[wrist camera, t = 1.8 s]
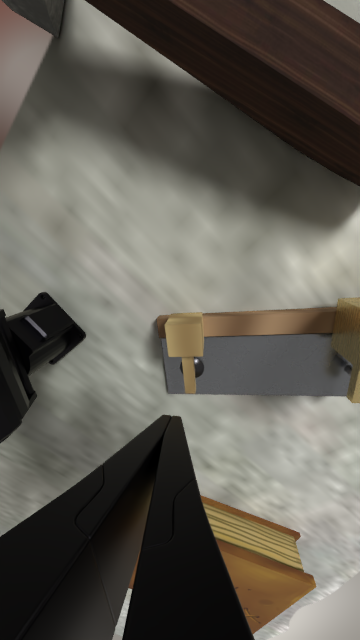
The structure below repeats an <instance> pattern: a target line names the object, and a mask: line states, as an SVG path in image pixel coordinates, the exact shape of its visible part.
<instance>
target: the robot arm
mask: <svg viewBox="0 0 360 640" xmlns="http://www.w3.org/2000/svg"><path fill="white" fill-rule="evenodd" d="M43 296H44V297H45V298H44V297H43ZM5 316H6V314H5V312H4V309H0V443H1V442H3V441H4V440H5V439H6V438H8V437H9V436H10V435H11V434H12V433H13V432H14V431H15V430H16V429H17V428H18V427H19V426H20V425H21V423H22V418H23V417H24V415H25V414H26V412H27V411H28V409H29V408H30V406H31V405H32V403H33V402H34V400H35V399H36V397H37V394H36V392H35V391H34V390H33V387H32V385H31V382H30V380H29V377H28V376H30V375H31V374H32V373H34V372H35V371H37V370H38V369H39V368H41V367H42V366H43V365H45V364H46V363H48V362H49V363H50V364H55V363H56V362H57V361H59V360H60V359H61V358H62V357H63V356H64V355H66V354H67V353H68V352H69V351H70V350H71V349H73V348H74V347H75V346H76V345H77V344H78V343H80V342H81V341H82V340H83V339H84V338H85V337H86V334H85V332H84V331H83V330H82V329H81V328H80V327H79V326H78V325H77V324H76V323H75V322H74V321H73V320H72V318H71V317H70V316H69V315H68V314H67V313H66V312H65V311H64V310H63V309H62V308H61V307H60V306H59V305H58V304H57V303H56V302H55V301H54V300H53V299H52V298H51V297H50V295H49V294H48V293H46V292H42V293H39V294H38V295H37V297H36V298H35V299H34V300H33V301H32V302H31V303H30V304H29V305H28V306H27V307H26V308H25V310H24V311H23V312H20V313H18V314H15V315H12V316H9V317H6V318H5ZM80 334H81V335H82V337H81V336H80ZM140 549H141V552H140ZM139 552H140V554H139ZM138 555H139V559H138ZM137 559H138V564H137V569H136V574H135V579H134V584H133V589H132V594H131V599H130V604H129V609H128V614H127V619H126V624H125V628H124V633H123V638H122V640H255V639H254V637H253V634H252V631H251V629H250V626H249V624H248V621H247V619H246V616H245V613H244V611H243V608H242V606H241V603H240V600H239V598H238V595H237V593H236V590H235V588H234V585H233V582H232V580H231V577H230V575H229V572H228V569H227V567H226V564H225V562H224V559H223V557H222V554H221V551H220V549H219V546H218V544H217V541H216V538H215V536H214V533H213V531H212V528H211V525H210V523H209V520H208V517H207V514H206V512H205V509H204V506H203V503H202V499H201V496H200V492H199V488H198V484H197V480H196V477H195V473H194V469H193V464H192V460H191V456H190V452H189V448H188V444H187V440H186V436H185V432H184V427H183V423H182V419H181V417H180V416H170V415H162V416H161V417H160V418H158V419H157V420H156V421H155V422H153V423H152V424H151V425H150V426H148V427H147V428H146V429H145V430H144V431H142V432H141V433H140V434H139V435H137V436H136V437H135V438H134V439H132V440H131V441H130V442H129V443H128V444H126V445H125V446H124V447H123V448H121V449H120V450H119V451H118V452H117V453H115V454H114V455H113V456H112V457H110V458H109V459H108V460H107V461H105V462H104V463H103V465H100V466H99V467H98V468H96V469H95V470H94V471H93V472H91V473H90V474H89V475H87V476H86V477H85V478H84V479H82V480H81V481H80V482H78V483H77V484H76V485H74V486H73V487H71V488H70V489H69V490H67V491H66V492H64V493H63V494H62V495H60V496H59V497H57V498H56V499H54V500H53V501H51V502H50V503H49V504H47V505H46V506H44V507H43V508H41V509H40V510H38V511H37V512H35V513H34V514H33V515H31V516H30V517H28V518H27V519H25V520H24V521H22V522H21V523H20V524H18V525H17V526H15V527H14V528H12V529H11V530H9V531H8V532H6V533H5V534H4V535H2V536H1V537H0V640H112V638H113V635H114V632H115V627H116V625H117V622H118V619H119V616H120V613H121V609H122V606H123V603H124V600H125V597H126V593H127V590H128V587H129V584H130V581H131V578H132V574H133V571H134V568H135V565H136V562H137Z"/></svg>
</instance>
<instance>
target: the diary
mask: <svg viewBox="0 0 360 640" xmlns="http://www.w3.org/2000/svg"><path fill="white" fill-rule="evenodd" d="M200 496H201V495H200ZM201 499H202V503H203V506H204V509H205V512H206V514H207V517H208V520H209V523H210V525H211V528H212V531H213V533H214V536H215V538H216V541H217V544H218V546H219V549H220V551H221V554H222V557H223V559H224V562H225V564H226V567H227V569H228V572H229V575H230V577H231V580H232V582H233V585H234V588H235V590H236V593H237V595H238V598H239V600H240V603H241V606H242V608H243V611H244V613H245V616H246V619H247V621H248V624H249V626H250V629H251V631H252V634H254V633H255V632H256V631H258V630H259V629H260V628H262V627H263V626H264V625H266V624H267V623H268V622H270V621H271V620H272V619H274V618H275V617H276V616H278V615H279V614H280V613H282V612H283V611H285V610H286V609H287V608H289V607H290V606H291V605H293V604H294V603H295V602H297V601H298V600H299V599H301V598H302V597H303V596H305V595H306V594H307V593H309V592H310V591H311V590H313V589H314V588H315V587H316V584H315V581H314V578H313V576H312V575H310V574H307V573H304V570H303V567H302V563H301V560H300V556H299V553H298V549H297V546H296V541H297V540H298V539H299V538H300V537H301V536H300V533H299V532H296V531H294V530H291V529H288V528H286V527H283V526H281V525H278V524H275V523H273V522H270V521H267V520H265V519H262V518H259V517H257V516H254V515H251V514H249V513H246V512H243V511H241V510H238V509H235V508H233V507H230V506H228V505H225V504H222V503H220V502H217V501H214V500H212V499H209V498H206V497H204V496H201ZM140 552H141V549H140ZM140 552H139V554H140ZM138 559H139V555H138ZM138 559H137V562H136V565H135V568H134V571H133V574H132V578H131V581H130V584H129V587H128V588H130V589H133V584H134V579H135V574H136V569H137V564H138Z"/></svg>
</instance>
